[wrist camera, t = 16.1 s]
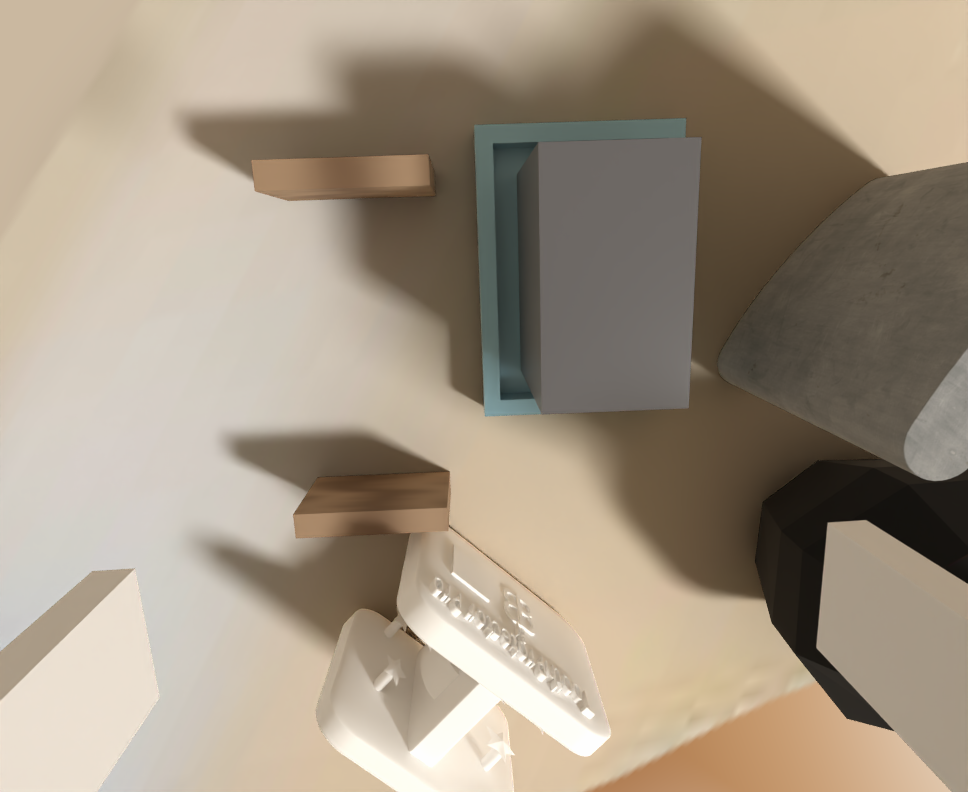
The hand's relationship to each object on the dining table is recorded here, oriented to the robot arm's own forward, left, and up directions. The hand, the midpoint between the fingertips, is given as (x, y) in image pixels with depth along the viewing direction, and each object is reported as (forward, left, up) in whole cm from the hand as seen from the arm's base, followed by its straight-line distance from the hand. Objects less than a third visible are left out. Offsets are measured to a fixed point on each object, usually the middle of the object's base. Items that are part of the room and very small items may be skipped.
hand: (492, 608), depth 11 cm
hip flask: (+22, +4, -29) cm, 36 cm away
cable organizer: (-1, -19, -29) cm, 35 cm away
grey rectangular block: (+7, +5, -28) cm, 29 cm away
